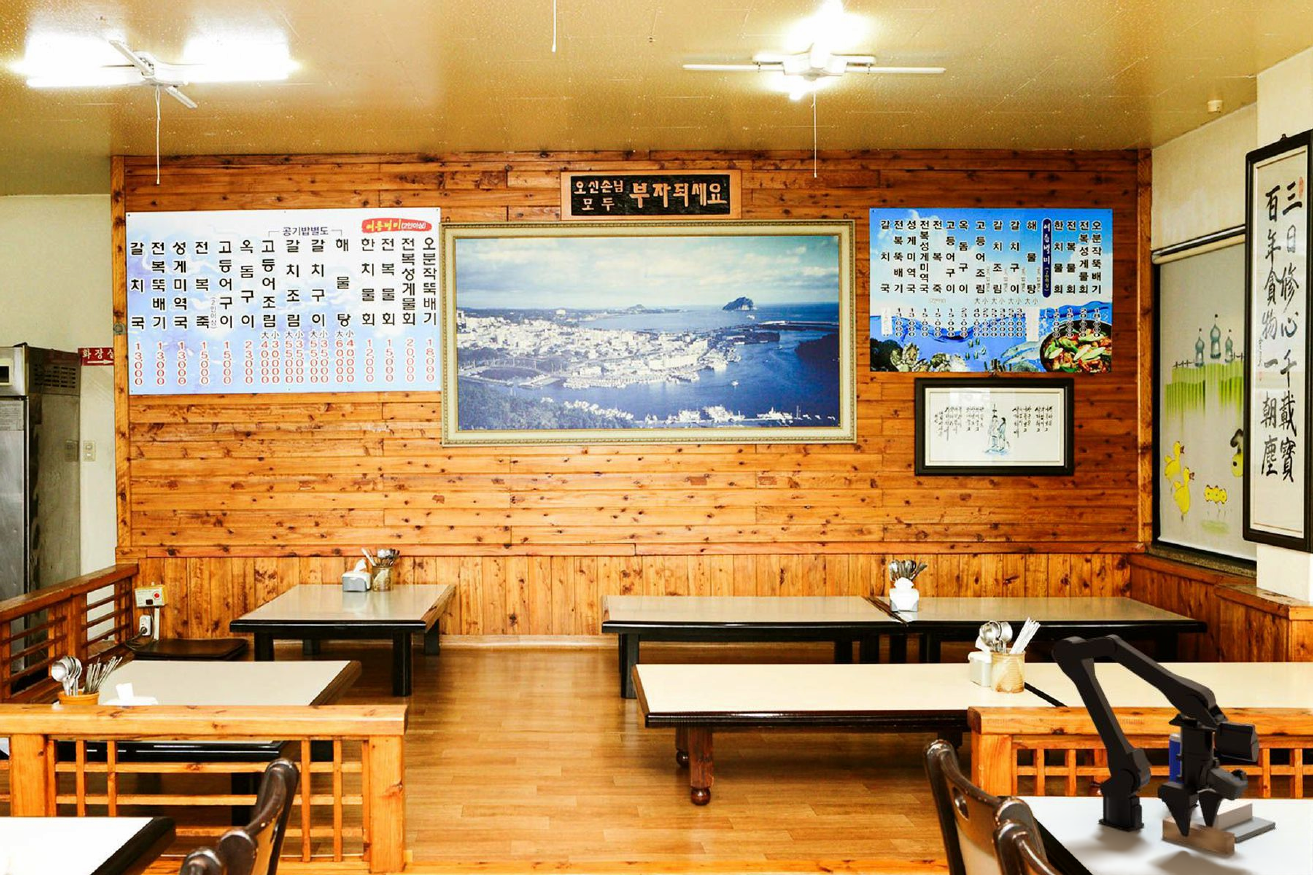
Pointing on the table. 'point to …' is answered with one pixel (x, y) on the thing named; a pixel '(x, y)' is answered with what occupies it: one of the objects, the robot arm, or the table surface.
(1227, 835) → the oak bar
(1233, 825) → the stand
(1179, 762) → the beverage can
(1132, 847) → the table surface
